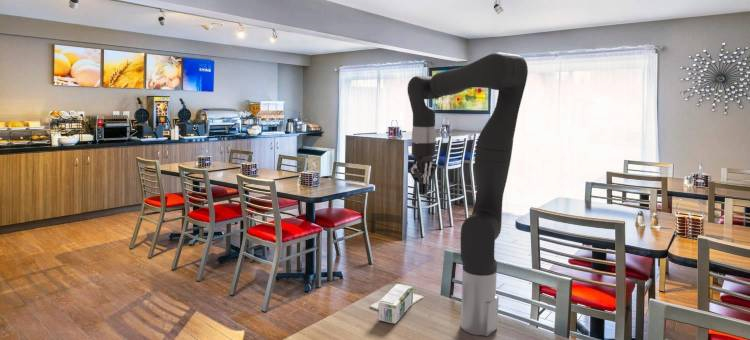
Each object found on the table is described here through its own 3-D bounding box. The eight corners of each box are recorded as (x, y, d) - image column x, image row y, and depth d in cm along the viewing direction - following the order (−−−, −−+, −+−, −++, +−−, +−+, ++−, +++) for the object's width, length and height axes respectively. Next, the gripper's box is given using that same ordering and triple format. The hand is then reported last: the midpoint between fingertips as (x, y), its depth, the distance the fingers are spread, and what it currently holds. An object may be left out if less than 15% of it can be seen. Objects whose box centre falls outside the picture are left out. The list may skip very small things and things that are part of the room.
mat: (423, 298, 151) (423, 296, 151) (392, 316, 139) (392, 314, 139) (401, 290, 157) (401, 289, 157) (369, 307, 145) (369, 305, 145)
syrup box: (413, 303, 146) (396, 324, 133) (395, 299, 149) (377, 320, 136) (413, 286, 145) (396, 306, 132) (396, 282, 148) (377, 301, 135)
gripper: (425, 138, 155) (424, 189, 158) (401, 141, 145) (401, 196, 148) (445, 139, 151) (444, 192, 154) (421, 143, 141) (420, 199, 144)
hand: (422, 194), depth 151 cm, fingers closed
